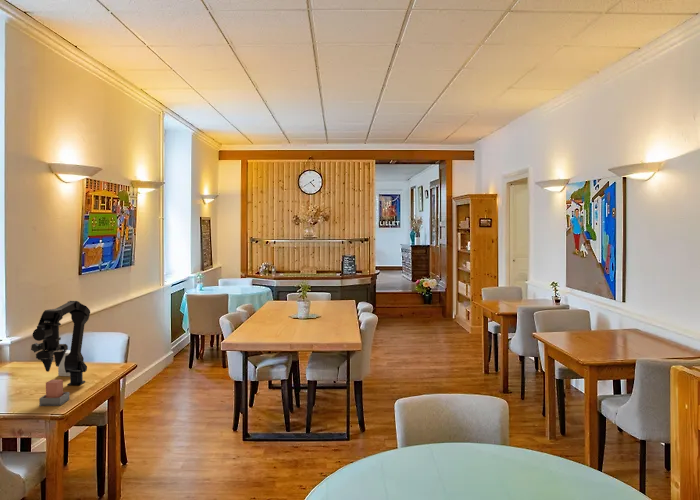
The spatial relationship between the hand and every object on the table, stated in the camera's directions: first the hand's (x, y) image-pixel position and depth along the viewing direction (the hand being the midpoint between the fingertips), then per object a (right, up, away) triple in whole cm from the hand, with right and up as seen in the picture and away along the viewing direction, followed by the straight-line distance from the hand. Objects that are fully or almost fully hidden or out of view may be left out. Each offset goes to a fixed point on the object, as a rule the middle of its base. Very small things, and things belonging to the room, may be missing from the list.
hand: (52, 368), depth 251 cm
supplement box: (-12, -12, +38) cm, 41 cm away
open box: (+6, -13, -9) cm, 17 cm away
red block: (+6, -12, -9) cm, 17 cm away
